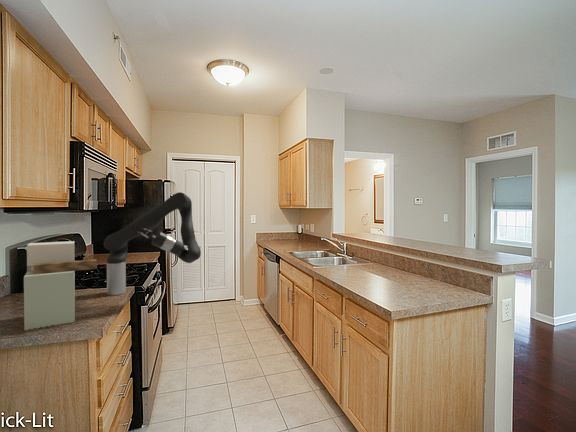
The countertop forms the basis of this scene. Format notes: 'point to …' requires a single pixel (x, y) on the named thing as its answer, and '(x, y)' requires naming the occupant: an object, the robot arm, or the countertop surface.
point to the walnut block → (61, 266)
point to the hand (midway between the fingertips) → (133, 226)
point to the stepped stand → (49, 287)
